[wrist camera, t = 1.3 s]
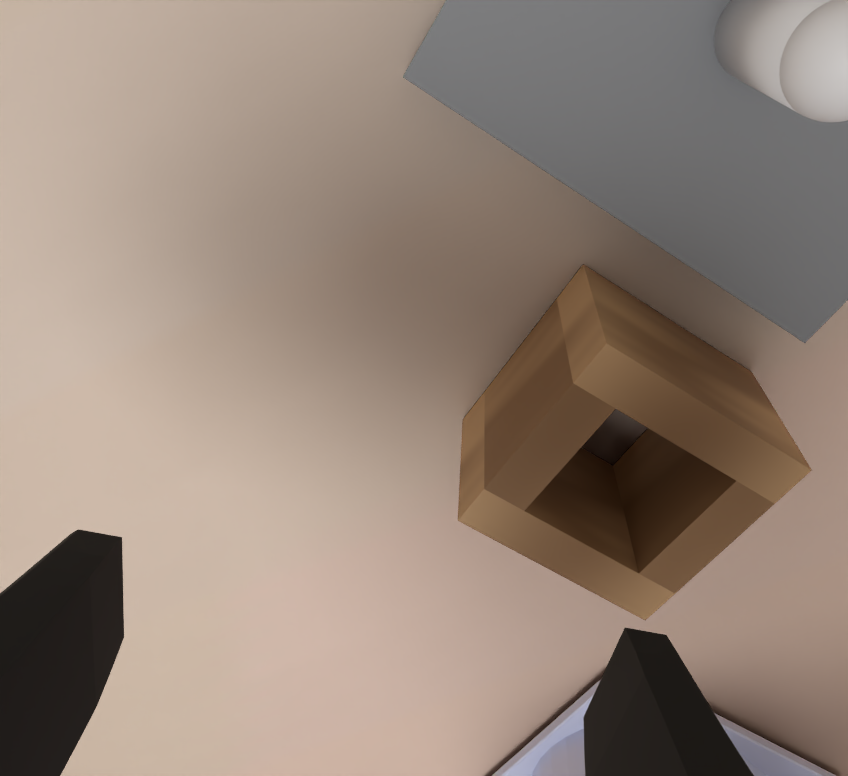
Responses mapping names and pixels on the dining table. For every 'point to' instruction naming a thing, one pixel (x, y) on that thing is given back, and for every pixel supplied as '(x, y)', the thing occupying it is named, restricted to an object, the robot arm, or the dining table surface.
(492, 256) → the dining table surface
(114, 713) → the dining table surface
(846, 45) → the rod stand
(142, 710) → the dining table surface
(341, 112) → the dining table surface
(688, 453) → the wooden square ring
